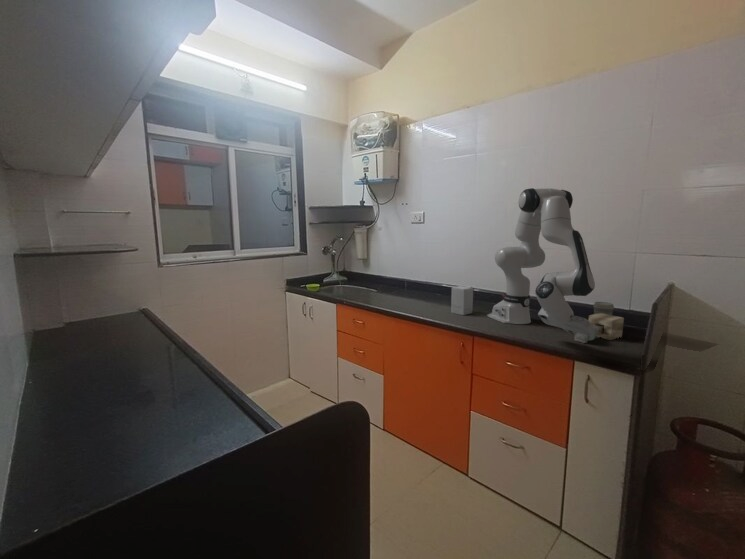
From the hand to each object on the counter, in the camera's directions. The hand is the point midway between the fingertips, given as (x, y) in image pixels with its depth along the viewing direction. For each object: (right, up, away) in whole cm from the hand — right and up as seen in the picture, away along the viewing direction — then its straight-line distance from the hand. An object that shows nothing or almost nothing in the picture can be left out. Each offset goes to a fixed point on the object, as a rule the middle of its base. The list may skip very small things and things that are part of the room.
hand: (573, 333), depth 143 cm
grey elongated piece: (+12, -3, +7) cm, 14 cm away
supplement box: (-33, +3, +54) cm, 63 cm away
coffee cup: (+28, -1, +24) cm, 37 cm away
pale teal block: (+8, -3, +4) cm, 10 cm away
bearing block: (+21, -3, +11) cm, 24 cm away
